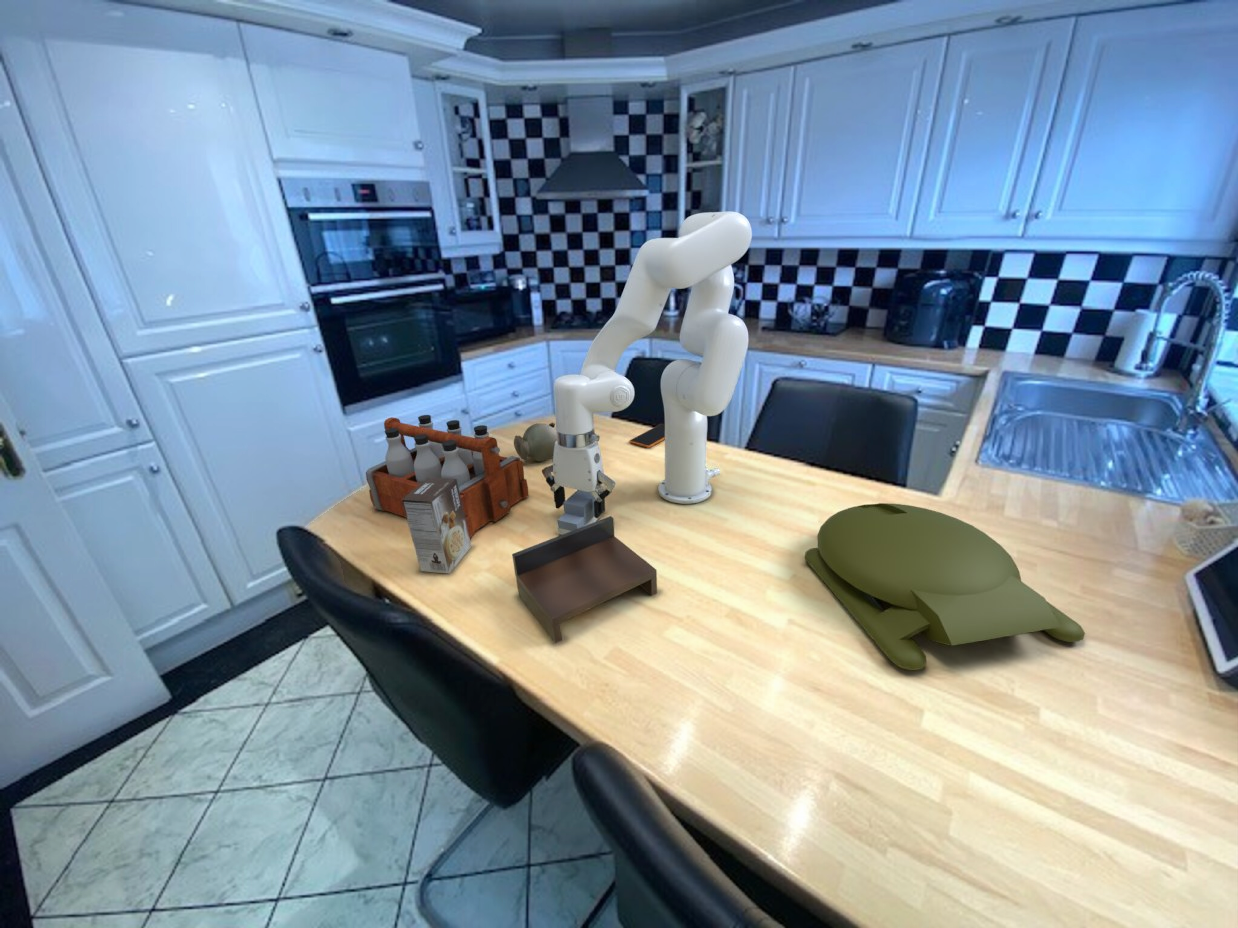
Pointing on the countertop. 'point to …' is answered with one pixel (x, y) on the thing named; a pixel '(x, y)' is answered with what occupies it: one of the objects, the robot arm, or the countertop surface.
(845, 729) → the countertop surface
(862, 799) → the countertop surface
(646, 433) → the smartphone
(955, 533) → the spaceship
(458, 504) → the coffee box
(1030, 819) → the countertop surface
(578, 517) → the stepped grey block
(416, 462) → the milk bottle holder
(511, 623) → the countertop surface
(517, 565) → the shelf rack
